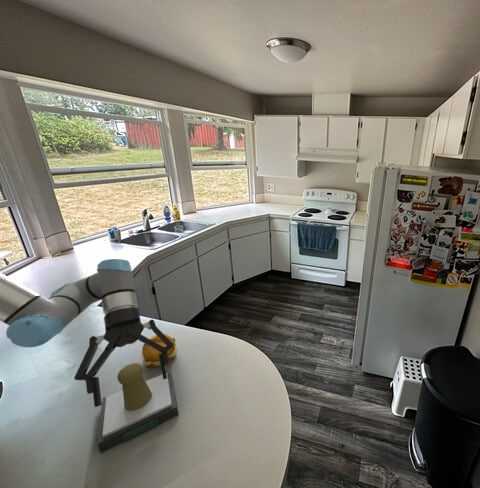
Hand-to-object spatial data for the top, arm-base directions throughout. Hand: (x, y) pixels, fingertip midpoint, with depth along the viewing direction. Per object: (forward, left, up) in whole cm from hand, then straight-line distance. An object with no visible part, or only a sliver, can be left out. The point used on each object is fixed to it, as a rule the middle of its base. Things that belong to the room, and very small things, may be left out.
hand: (133, 391), depth 63 cm
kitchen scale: (0, +2, -9) cm, 9 cm away
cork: (0, +2, -6) cm, 6 cm away
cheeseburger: (+6, +20, -9) cm, 23 cm away
